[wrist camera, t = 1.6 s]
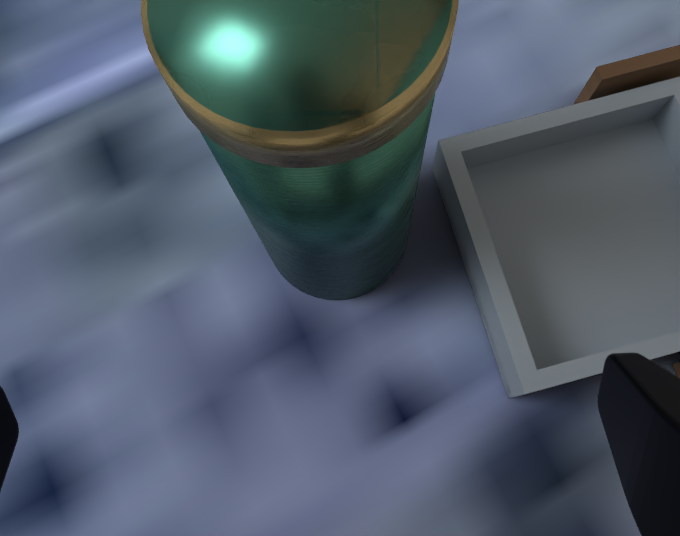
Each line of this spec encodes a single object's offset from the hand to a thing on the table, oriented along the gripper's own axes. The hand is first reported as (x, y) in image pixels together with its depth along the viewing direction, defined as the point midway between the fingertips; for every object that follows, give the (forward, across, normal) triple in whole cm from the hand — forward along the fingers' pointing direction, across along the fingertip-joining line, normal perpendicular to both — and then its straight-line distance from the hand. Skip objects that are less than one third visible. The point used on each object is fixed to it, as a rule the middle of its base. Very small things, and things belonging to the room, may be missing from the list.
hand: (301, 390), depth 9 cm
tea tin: (+14, 0, +4) cm, 14 cm away
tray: (+13, -9, +5) cm, 16 cm away
